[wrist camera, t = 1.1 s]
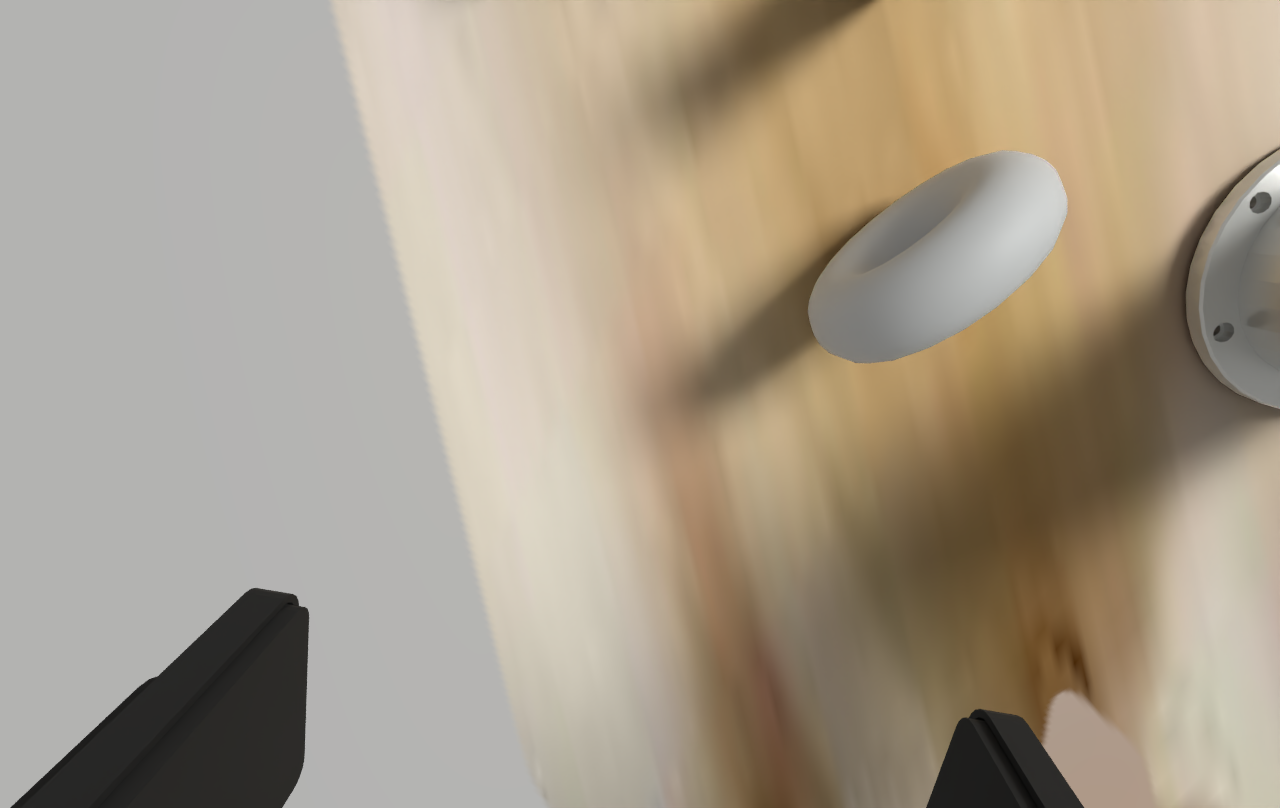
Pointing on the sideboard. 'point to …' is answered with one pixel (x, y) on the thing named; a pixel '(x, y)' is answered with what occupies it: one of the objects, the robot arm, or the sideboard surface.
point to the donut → (939, 258)
